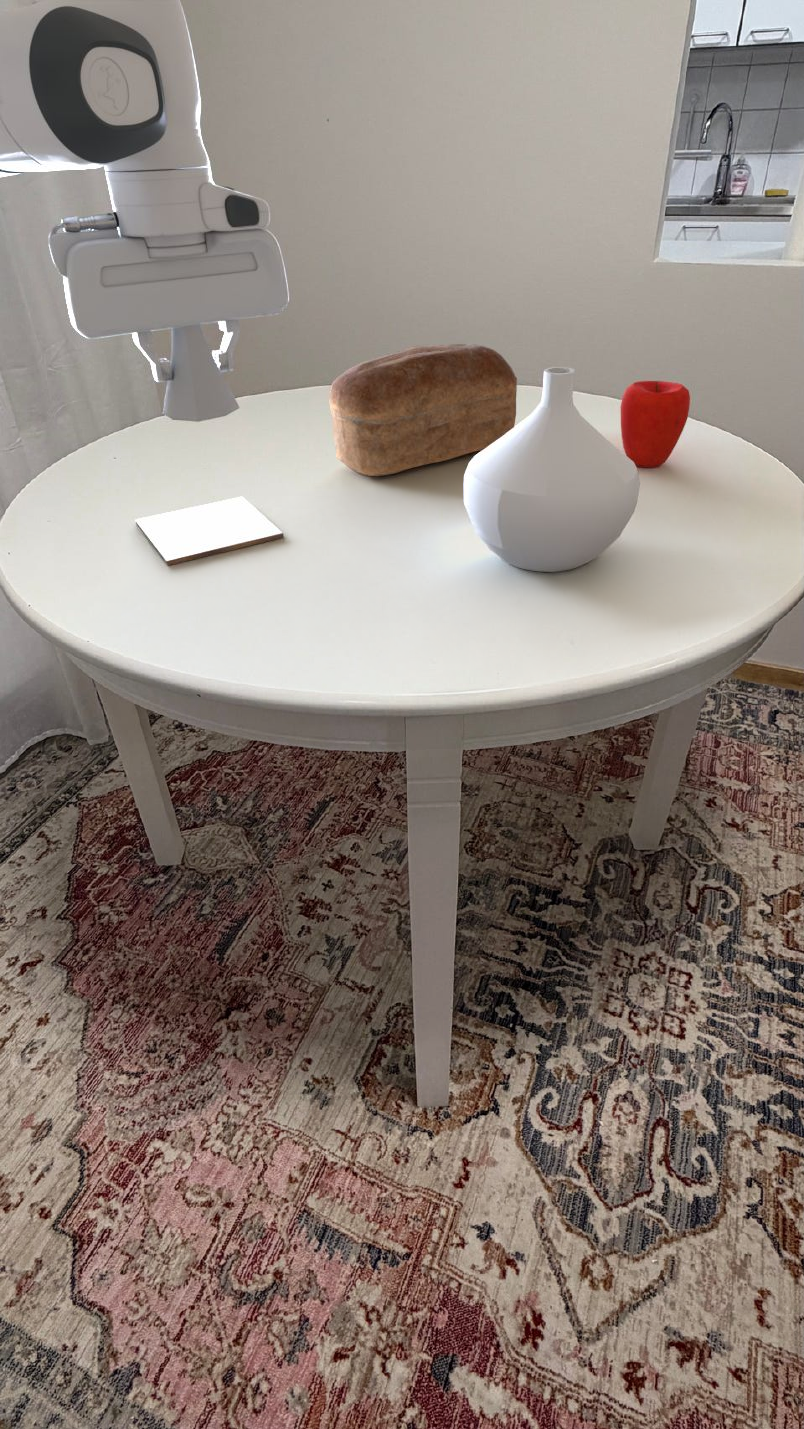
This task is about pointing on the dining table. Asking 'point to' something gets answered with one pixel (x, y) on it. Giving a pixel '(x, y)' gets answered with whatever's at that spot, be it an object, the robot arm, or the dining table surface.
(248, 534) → the coaster
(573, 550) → the vase
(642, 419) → the apple
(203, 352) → the flask
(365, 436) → the bread
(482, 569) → the dining table surface
